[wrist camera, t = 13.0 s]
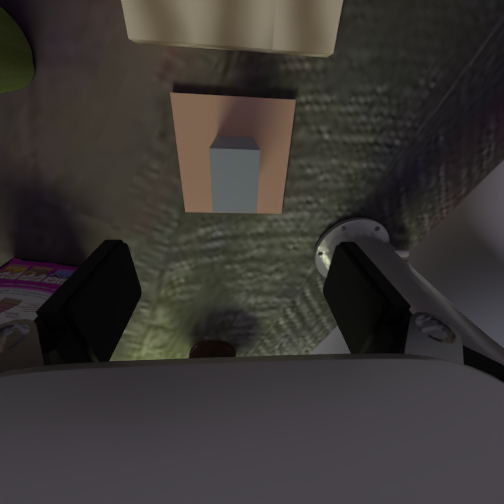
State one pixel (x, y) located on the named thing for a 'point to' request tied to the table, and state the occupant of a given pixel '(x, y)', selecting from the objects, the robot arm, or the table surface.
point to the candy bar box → (29, 286)
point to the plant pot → (14, 55)
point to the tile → (232, 125)
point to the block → (234, 174)
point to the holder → (237, 24)
